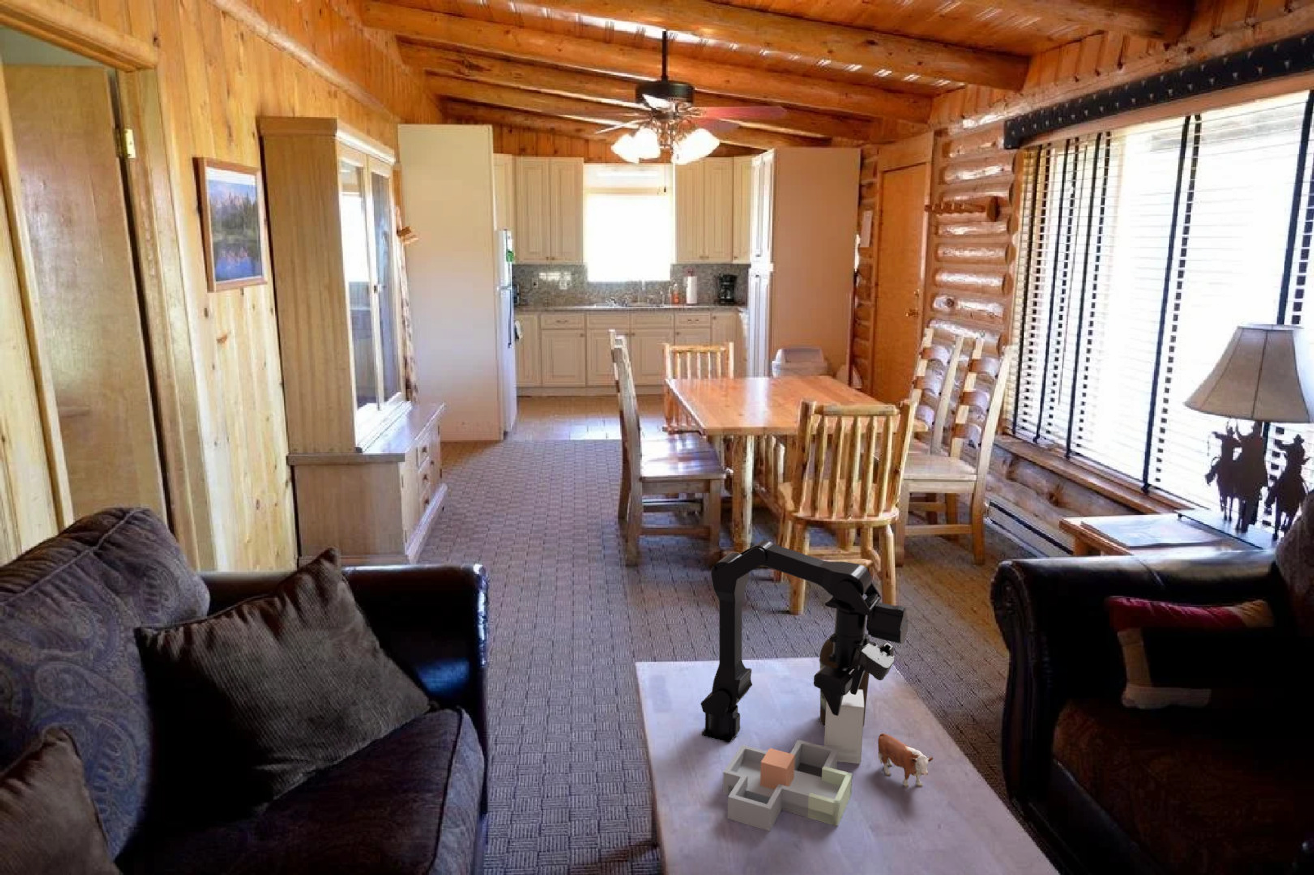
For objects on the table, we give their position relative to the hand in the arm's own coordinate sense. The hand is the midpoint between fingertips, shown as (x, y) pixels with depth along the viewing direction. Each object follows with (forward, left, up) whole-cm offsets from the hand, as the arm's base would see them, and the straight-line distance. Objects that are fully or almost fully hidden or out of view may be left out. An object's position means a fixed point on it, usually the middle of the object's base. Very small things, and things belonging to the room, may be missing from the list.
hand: (844, 704), depth 170 cm
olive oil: (-4, +16, -14) cm, 22 cm away
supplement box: (-1, +5, -14) cm, 15 cm away
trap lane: (-7, -13, -14) cm, 20 cm away
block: (-9, -13, -12) cm, 20 cm away
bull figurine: (+12, +1, -14) cm, 19 cm away
